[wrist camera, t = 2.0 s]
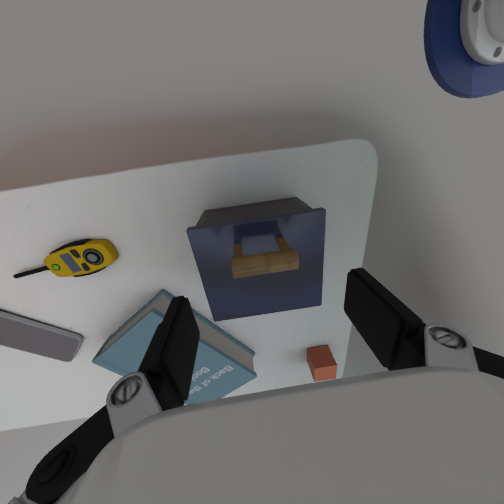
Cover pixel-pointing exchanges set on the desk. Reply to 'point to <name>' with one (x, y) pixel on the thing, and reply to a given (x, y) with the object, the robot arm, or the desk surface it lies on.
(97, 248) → the yellow plastic handheld
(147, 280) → the desk surface
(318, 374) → the block
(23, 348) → the smartphone
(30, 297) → the desk surface
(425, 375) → the robot arm
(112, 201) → the desk surface
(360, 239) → the desk surface
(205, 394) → the book
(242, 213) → the chest
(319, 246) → the navy box cover
